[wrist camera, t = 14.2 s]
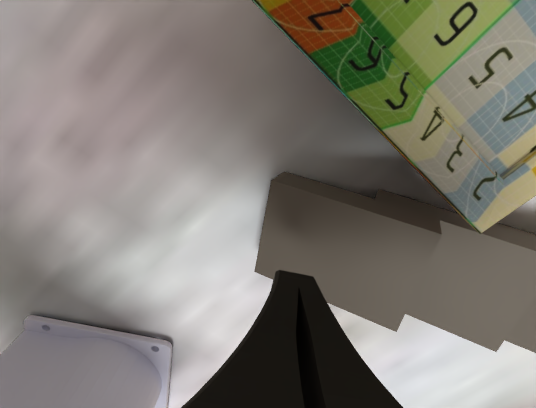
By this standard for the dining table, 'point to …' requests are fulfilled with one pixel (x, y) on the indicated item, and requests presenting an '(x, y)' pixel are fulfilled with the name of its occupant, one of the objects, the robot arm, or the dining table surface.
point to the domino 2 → (473, 277)
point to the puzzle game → (435, 87)
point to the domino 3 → (524, 316)
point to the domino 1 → (347, 246)
